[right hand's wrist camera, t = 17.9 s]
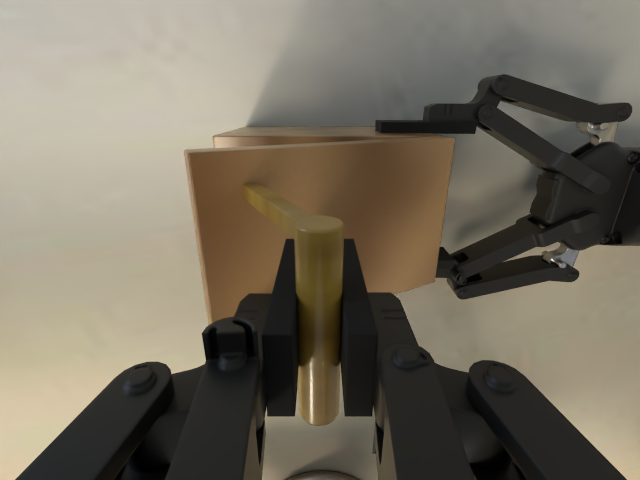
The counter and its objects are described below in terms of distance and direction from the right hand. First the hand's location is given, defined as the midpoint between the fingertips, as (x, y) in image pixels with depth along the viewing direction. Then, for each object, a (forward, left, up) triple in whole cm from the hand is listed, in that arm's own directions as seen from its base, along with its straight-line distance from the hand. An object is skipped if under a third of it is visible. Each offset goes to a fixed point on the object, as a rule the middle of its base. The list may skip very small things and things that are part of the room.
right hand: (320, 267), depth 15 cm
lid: (0, -1, -5) cm, 5 cm away
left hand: (+3, -3, -12) cm, 13 cm away
